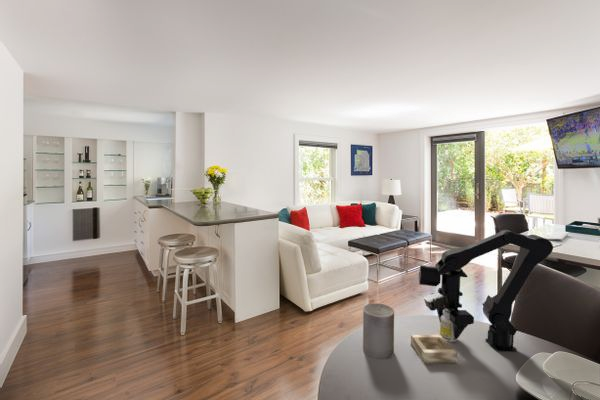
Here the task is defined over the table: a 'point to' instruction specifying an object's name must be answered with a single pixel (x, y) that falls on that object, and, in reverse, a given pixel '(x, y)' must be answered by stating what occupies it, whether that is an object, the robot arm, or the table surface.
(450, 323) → the supplement bottle
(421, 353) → the square holder
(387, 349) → the pillar candle
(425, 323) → the table surface
